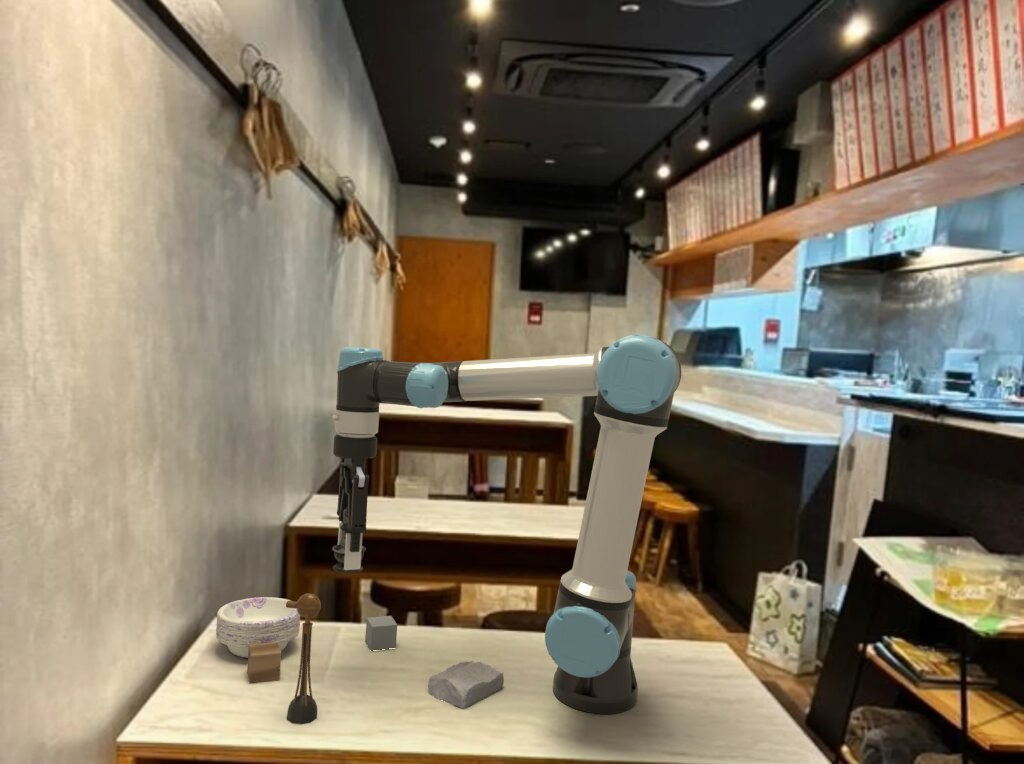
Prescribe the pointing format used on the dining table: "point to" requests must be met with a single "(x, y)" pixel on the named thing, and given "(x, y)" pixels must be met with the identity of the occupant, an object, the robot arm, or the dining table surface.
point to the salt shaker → (340, 549)
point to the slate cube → (381, 633)
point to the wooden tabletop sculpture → (304, 662)
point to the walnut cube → (264, 662)
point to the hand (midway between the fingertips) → (348, 563)
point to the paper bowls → (256, 623)
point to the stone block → (465, 683)
